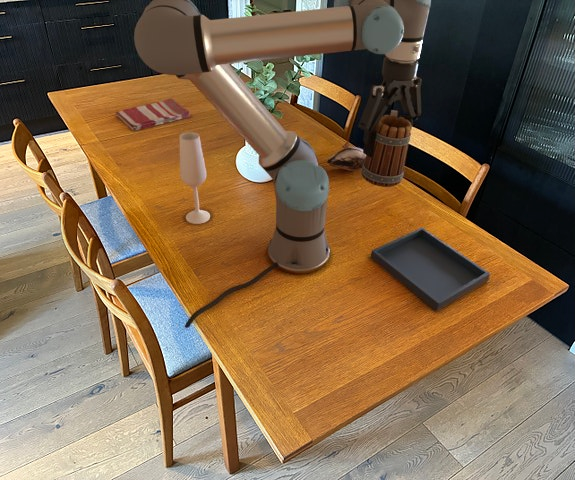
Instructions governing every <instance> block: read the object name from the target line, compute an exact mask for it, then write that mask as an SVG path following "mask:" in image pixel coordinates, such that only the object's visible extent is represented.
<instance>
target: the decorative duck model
mask: <svg viewBox="0 0 575 480" xmlns="http://www.w3.org/2000/svg"><path fill="white" fill-rule="evenodd" d="M350 145H351V144H350V143H349V140H348V141H346V142H345V143H344V144H343V145H342V149H341V150H339V151H337V152H336V153H334V154H333V155H331V156H329V158H328V159H327V161H326V163H327V164H329V166H331V167H334V168H339V169H341V170H346V171H350V172H354V171H358V170H360V169H362V165H363V162H364V161H365V157H366V154H364V153H363V148H360V147H356V146H355V147H354V146H350Z"/></svg>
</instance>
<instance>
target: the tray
mask: <svg viewBox="0 0 575 480" xmlns="http://www.w3.org/2000/svg"><path fill="white" fill-rule="evenodd" d="M370 259H371V260H372V261H373V262H375V263H376V265H378V266H379V267H381V268H382V269H383V270H384V271H386V272H387V273H389V274H390V275H391V276H392V277H393V278H394V279H396V280H397V281H398V282H399V283H400V284H402V285H403V286H405V287H406V288H407V289H408V290H409V291H411V292H412V293H413V294H414V295H415V296H416V297H418V298H419V299H421V300H422V301H423V302H424V303H425V304H427V306H429V307H431V309H433V310H434V311H435V312H438V311H439V310H442V309H443V308H445V307H446V306H448V305H450V304H452V303H453V302H454V301H456V300H459V299H460V298H462V297H463V296H464V295H467V294H468V293H470V292H472V291H473V290H475V289H476V288H478V287H480V286H482V285H483V284H485V283H487V282H488V281H489V279H490V275H491V272H489V271H487V270H486V269H485V268H484V267H481V265H479V264H477V263H476V262H474V261H473V260H471V259H469V258H468V257H467V256H465V255H464V254H462V253H460V252H459V251H458V250H456V249H455V248H453V247H452V246H451V245H449V244H447V243H446V242H445V241H443V240H442V239H440V238H439V237H437V236H436V235H434V234H433V233H431V232H430V231H429V230H427V229H426V228H424V227H420V228H417V229H415V230H413V231H411V232H408V233H407V234H404V235H402V236H400V237H397V238H396V239H393V240H391V241H389V242H387V243H385V244H382V245H381V246H378V247H376V248H374V249H372V250H371V252H370Z"/></svg>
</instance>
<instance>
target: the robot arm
mask: <svg viewBox="0 0 575 480" xmlns="http://www.w3.org/2000/svg"><path fill="white" fill-rule="evenodd" d="M431 3H432V0H333V7H324V8H315V9H305V10H295V11H287V12H277V13H266V14H258V15H248V16H240V17H230V18H219V19H209V17H206V16H205V15H204V14H201V13H200V11H199V9H198V8H197V6H196V5H195V3H193V2H192V0H151V1H150V2H149V3H148V5H147V6H145V8H144V11H143V12H142V14H141V16H140V18H139V19H138V20H137V23H136V24H135V27H134V33H133V35H134V36H133V41H134V46H135V50H136V52H137V54H138V56H139V58H140V59H141V61H142V62H143V63H144V64H145V65H146V66H147V67H149V68H150V69H151V70H154V71H155V72H157V73H160V74H163V75H167V76H175V77H176V78H177V79H179V80H188V81H190V83H192V85H193V86H194V87H195V88H196V89H197V90H198V91H199V92H200V93H201V94H202V95H203V96H204V98H206V100H207V101H208V102H209V103H210V104H211V105H212V106H213V107H214V109H216V110H217V112H218V113H219V114H220V115H221V116H222V117H223V118H224V119H225V120H226V122H228V123H229V125H230V126H231V127H232V128H233V129H234V131H236V132H237V133H238V134H239V135H240V136H241V137H242V139H243V140H244V141H245V142H246V143H247V144H248V145H249V146H250V147H251V148H252V150H254V152H255V153H256V154H257V155H258V165H259V166H260V167H261V168H262V169H263V170H264V172H266V174H268V176H269V177H270V178H271V179H272V181H273V185H274V194H275V205H276V207H275V229H274V232H273V235H272V237H271V239H270V241H269V242H268V247H267V256H268V259H269V262H270V264H271V265H269V266H268V267H267V268H265V269H264V270H262V272H260V273H259V274H257V275H256V276H254V278H252V279H251V280H249V281H247V282H244V283H241V284H238V285H235V286H232V287H231V288H227V290H225V291H224V292H222V293H221V294H220V295H218V296H217V297H216V298H215V299H213V300H212V301H210V302H209V303H208V304H205V305H204V306H202V307H200V308H199V309H197V310H196V311H194V312H193V313H192V315H191V316H190V317H189V318H188V319H187V321H186V322H185V325H184V328H185V329H189V328H190V327H191V325H192V324H193V322H194V321H195V320H196V319H197V317H199V316H200V315H201V314H203V313H205V312H206V311H208V310H209V309H211V308H213V307H215V306H216V305H217V304H219V302H221V301H222V300H223V299H225V298H226V297H227V296H229V295H230V294H232V293H234V292H237V291H240V290H243V289H246V288H249V287H250V286H252V285H254V284H256V283H257V282H259V281H260V280H261V279H262V278H263V277H265V276H266V275H267V274H269V273H270V272H271V271H273V270H274V269H275V268H277V269H278V270H280V271H282V272H284V273H287V274H291V275H292V274H293V275H308V274H314V273H315V272H318V271H320V270H321V269H323V268H324V267H325V266H326V265H327V264H328V261H329V260H330V246H329V245H330V244H329V241H328V238H327V235H326V232H325V227H326V216H327V207H328V198H329V194H330V180H329V175H328V174H327V171H326V170H325V169H324V168H323V167H322V166H320V165H319V161H318V156H317V154H316V151H315V150H314V148H313V146H311V145H310V143H309V142H308V141H306V140H305V139H303V138H301V137H300V136H298V134H297V133H296V132H295V131H293V130H285V128H283V126H282V125H281V124H280V123H279V122H278V120H277V119H276V118H275V117H274V116H273V114H271V112H270V111H269V110H268V109H267V107H265V105H264V104H263V102H261V100H260V99H259V98H258V96H257V95H256V94H255V93H254V92H253V91H252V89H250V87H249V86H248V85H247V84H246V83H245V81H243V79H242V78H241V77H240V75H239V74H238V73H237V72H236V71H235V70H234V68H233V67H232V66H231V65H232V64H242V63H249V62H258V61H268V60H277V59H287V58H294V57H295V58H296V57H305V56H313V55H320V54H321V55H323V54H332V53H340V52H342V53H343V52H349V51H351V52H352V51H361V50H367V51H369V52H371V53H373V54H375V55H384V56H385V57H384V58H383V63H382V67H381V68H382V69H381V74H382V77H383V81H382V83H381V85H375V84H372V85H371V86H370V90H369V91H370V92H369V97H368V99H367V102H366V103H365V107H364V109H363V112H362V115H361V117H360V119H359V122H358V124H357V125H358V128H359V129H361V130H363V131H364V132H363V140H362V142H363V144H364V145H363V148H362V150H363V153H364V154H366V155H367V156H369V157H372V155H373V150H374V145H375V139H376V133H377V131H375V128H376V126H377V125H378V123H379V121H380V120H381V118H382V116H384V115H385V113H386V111H387V110H388V108H389V107H391V106H392V105H393V103H394V102H396V101H399V102H400V105H401V108H402V112H403V114H404V116H402V117H403V118H404V119H405V120H408V121H409V122H410V123H411V130H412V129H413V124H414V122H417V121H418V119H419V116H421V115H422V98H421V96H422V95H421V86H422V81H423V79H422V78H420V77H417V71H418V66H419V61H418V60H419V59H420V55H421V51H422V44H423V40H424V35H425V30H426V26H427V22H428V17H429V12H430V8H431V6H432V5H431Z"/></svg>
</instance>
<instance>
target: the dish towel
mask: <svg viewBox="0 0 575 480" xmlns="http://www.w3.org/2000/svg"><path fill="white" fill-rule="evenodd" d="M115 115H116V116H117V118H119V119H120V120H121V122H123V123H124V124H125V125H126V126H128V127H129V128H130V129H131V130H132V131H137V130H138V131H139V130H144V129H148V128H152V127H155V126H158V125H163V124H168V123H170V122H175V121H179V120H183V119H187V118H190V117H191V112H190V110H188V109H186V108H185V107H183V106H182V105H181V104H179V103H178V102H177V101H176V100H175V99H173V98H167V99H164V100H160V101H158V102H154V103H149V104H148V103H147V104H143V105H140V106H134V107H129V108H125V109H122V110H119V111H116V112H115Z"/></svg>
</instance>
